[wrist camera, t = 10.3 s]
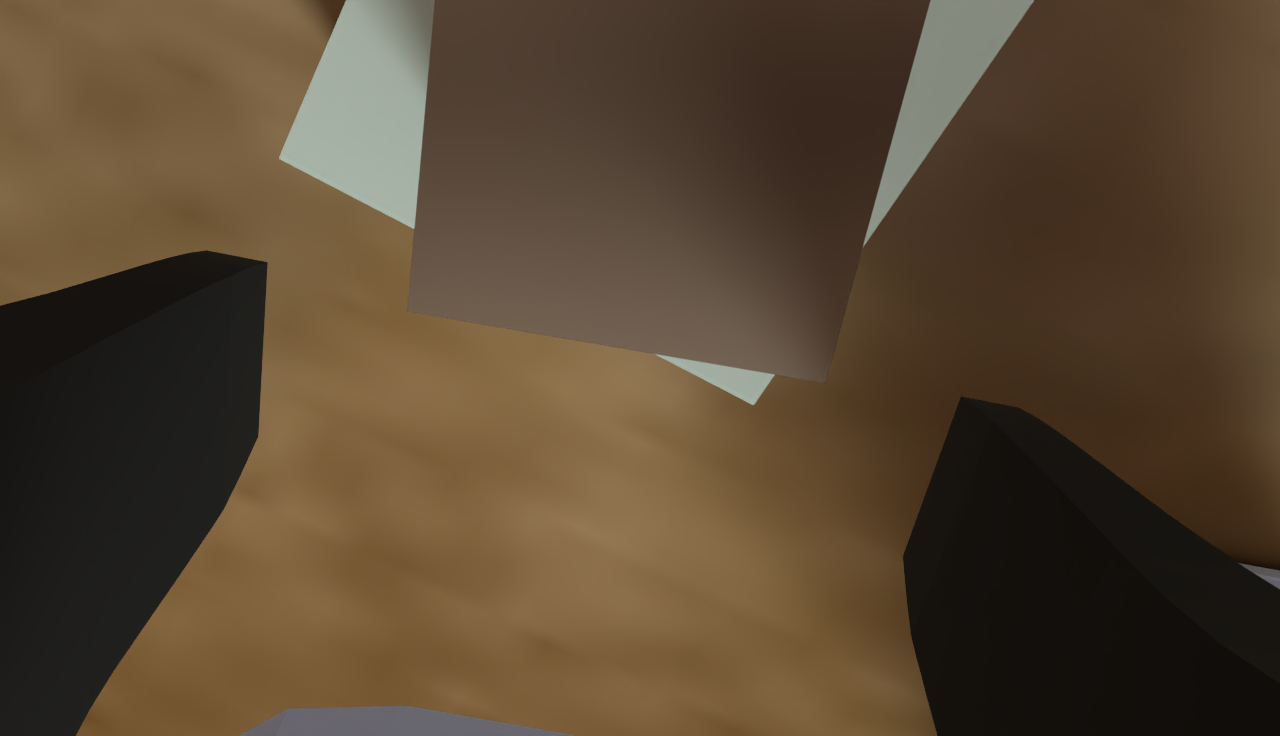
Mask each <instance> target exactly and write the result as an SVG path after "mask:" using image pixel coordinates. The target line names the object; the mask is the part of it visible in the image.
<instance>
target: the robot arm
mask: <svg viewBox="0 0 1280 736" xmlns="http://www.w3.org/2000/svg"><path fill="white" fill-rule="evenodd" d="M266 279H267V262H263V261H258V260H253V259H248V258H242V257H237V256H232V255H227V254H222V253H217V252H211V251H200V252H192V253H187V254H182V255H178V256H174V257H170V258H166V259H163V260H159V261H155V262H152V263H149V264H145V265H142V266H138V267H135V268H132V269H128V270H125V271H122V272H118V273H115V274H112V275H108V276H105V277H102V278H98V279H95V280H92V281H88V282H85V283H82V284H78V285H75V286H72V287H68V288H65V289H62V290H58V291H55V292H51V293H48V294H44V295H40V296H36V297H32V298H29V299H25V300H21V301H17V302H13V303H9V304H5V305H2V306H0V736H76V734H77V732H78V730H79V728H80V726H81V725H82V723H83V721H84V719H85V717H86V715H87V713H88V712H89V710H90V708H91V706H92V705H93V703H94V702H95V700H96V698H97V697H98V695H99V693H100V692H101V690H102V689H103V687H104V685H105V684H106V682H107V681H108V679H109V677H110V676H111V674H112V673H113V671H114V669H115V668H116V667H117V665H118V664H119V662H120V661H121V659H122V658H123V656H124V655H125V654H126V652H127V651H128V649H129V648H130V646H131V645H132V643H133V642H134V640H135V639H136V638H137V636H138V635H139V633H140V632H141V630H142V629H143V627H144V626H145V625H146V623H147V622H148V620H149V619H150V617H151V616H152V614H153V613H154V611H155V610H156V609H157V607H158V606H159V604H160V603H161V601H162V600H163V598H164V597H165V596H166V594H167V593H168V591H169V590H170V588H171V587H172V585H173V584H174V582H175V581H176V580H177V578H178V577H179V575H180V574H181V572H182V571H183V569H184V568H185V567H186V565H187V564H188V562H189V561H190V559H191V558H192V556H193V555H194V553H195V552H196V550H197V549H198V547H199V546H200V544H201V543H202V541H203V540H204V538H205V537H206V535H207V534H208V532H209V531H210V530H211V528H212V527H213V525H214V523H215V522H216V520H217V519H218V517H219V516H220V514H221V513H222V511H223V509H224V507H225V505H226V503H227V501H228V499H229V497H230V495H231V493H232V491H233V489H234V487H235V485H236V483H237V481H238V479H239V477H240V475H241V473H242V471H243V468H244V466H245V464H246V462H247V460H248V457H249V455H250V453H251V451H252V449H253V446H254V444H255V442H256V440H257V438H258V429H259V410H260V392H261V373H262V354H263V335H264V317H265V298H266ZM903 561H904V572H905V584H906V595H907V605H908V613H909V621H910V629H911V636H912V641H913V645H914V649H915V653H916V657H917V661H918V664H919V668H920V672H921V676H922V680H923V683H924V687H925V691H926V695H927V699H928V702H929V706H930V710H931V713H932V717H933V721H934V724H935V728H936V732H937V735H938V736H1280V571H1279V570H1273V569H1268V568H1262V567H1257V566H1251V565H1246V564H1240V563H1238V562H1236V561H1235V560H1233V559H1232V558H1230V557H1229V556H1227V555H1226V554H1224V553H1223V552H1221V551H1220V550H1219V549H1217V548H1216V547H1214V546H1213V545H1211V544H1210V543H1208V542H1207V541H1205V540H1204V539H1202V538H1201V537H1199V536H1198V535H1197V534H1195V533H1194V532H1192V531H1191V530H1189V529H1188V528H1187V527H1185V526H1184V525H1182V524H1181V523H1180V522H1178V521H1177V520H1175V519H1174V518H1173V517H1171V516H1170V515H1168V514H1167V513H1166V512H1164V511H1163V510H1162V509H1160V508H1159V507H1158V506H1156V505H1155V504H1153V503H1152V502H1151V501H1149V500H1148V499H1147V498H1145V497H1144V496H1143V495H1141V494H1140V493H1139V492H1137V491H1136V490H1135V489H1133V488H1132V487H1131V486H1129V485H1128V484H1127V483H1125V482H1124V481H1123V480H1122V479H1120V478H1119V477H1118V476H1116V475H1115V474H1114V473H1112V472H1111V471H1110V470H1108V469H1107V468H1106V467H1104V466H1103V465H1102V464H1100V463H1099V462H1098V461H1096V460H1095V459H1094V458H1092V457H1091V456H1090V455H1089V454H1087V453H1086V452H1085V451H1083V450H1082V449H1081V448H1079V447H1078V446H1077V445H1075V444H1074V443H1073V442H1071V441H1070V440H1068V439H1067V438H1066V437H1064V436H1063V435H1061V434H1060V433H1059V432H1057V431H1056V430H1054V429H1053V428H1052V427H1050V426H1049V425H1047V424H1046V423H1044V422H1043V421H1041V420H1040V419H1038V418H1036V417H1035V416H1033V415H1031V414H1029V413H1027V412H1026V411H1024V410H1022V409H1020V408H1017V407H1012V406H1007V405H1001V404H996V403H991V402H986V401H981V400H976V399H970V398H965V397H961V398H960V401H959V404H958V407H957V409H956V412H955V415H954V418H953V420H952V423H951V426H950V429H949V431H948V434H947V437H946V440H945V442H944V445H943V448H942V451H941V453H940V456H939V459H938V462H937V464H936V467H935V470H934V473H933V475H932V478H931V481H930V484H929V486H928V489H927V492H926V495H925V497H924V500H923V503H922V506H921V508H920V511H919V514H918V517H917V519H916V522H915V525H914V528H913V530H912V533H911V536H910V539H909V541H908V544H907V547H906V550H905V552H904V555H903ZM239 736H575V735H570V734H564V733H558V732H553V731H547V730H541V729H536V728H530V727H524V726H518V725H513V724H507V723H501V722H496V721H490V720H484V719H478V718H473V717H467V716H461V715H456V714H450V713H444V712H438V711H433V710H427V709H421V708H416V707H410V706H381V707H343V708H304V709H287V710H285V711H283V712H281V713H279V714H278V715H276V716H274V717H272V718H270V719H268V720H267V721H265V722H263V723H261V724H259V725H257V726H256V727H254V728H252V729H250V730H248V731H246V732H244V733H243V734H241V735H239Z"/></svg>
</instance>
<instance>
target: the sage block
mask: <svg viewBox="0 0 1280 736" xmlns="http://www.w3.org/2000/svg"><path fill="white" fill-rule="evenodd" d="M1033 1H1034V0H931V1H930V4H929V8H928V12H927V15H926V19H925V23H924V26H923V30H922V33H921V37H920V41H919V44H918V48H917V52H916V55H915V59H914V63H913V66H912V70H911V73H910V77H909V81H908V84H907V88H906V92H905V95H904V99H903V103H902V106H901V110H900V113H899V117H898V121H897V124H896V128H895V132H894V135H893V139H892V143H891V146H890V150H889V153H888V157H887V161H886V164H885V168H884V172H883V175H882V179H881V182H880V186H879V190H878V193H877V197H876V201H875V204H874V208H873V212H872V215H871V219H870V222H869V226H868V230H867V233H866V237H865V241H864V244H863V247H864V245H865V244H866V242H867V241H868V240H869V238H870V237H871V235H872V234H873V232H874V231H875V229H876V228H877V227H878V225H879V224H880V222H881V221H882V219H883V218H884V216H885V215H886V214H887V212H888V211H889V209H890V208H891V206H892V205H893V203H894V202H895V201H896V199H897V198H898V196H899V195H900V193H901V192H902V190H903V189H904V188H905V186H906V185H907V183H908V182H909V180H910V179H911V177H912V176H913V175H914V173H915V172H916V170H917V169H918V167H919V166H920V164H921V163H922V162H923V160H924V159H925V157H926V156H927V154H928V153H929V152H930V150H931V149H932V147H933V146H934V144H935V143H936V141H937V140H938V139H939V137H940V136H941V134H942V133H943V131H944V130H945V128H946V127H947V126H948V124H949V123H950V121H951V120H952V118H953V117H954V115H955V114H956V113H957V111H958V110H959V108H960V107H961V105H962V104H963V102H964V101H965V100H966V98H967V97H968V95H969V94H970V92H971V91H972V89H973V88H974V87H975V85H976V84H977V82H978V81H979V79H980V78H981V76H982V75H983V74H984V72H985V71H986V69H987V68H988V66H989V65H990V63H991V62H992V61H993V59H994V58H995V56H996V55H997V53H998V52H999V50H1000V49H1001V48H1002V46H1003V45H1004V43H1005V42H1006V40H1007V39H1008V37H1009V36H1010V35H1011V33H1012V32H1013V30H1014V29H1015V27H1016V26H1017V24H1018V23H1019V22H1020V20H1021V19H1022V17H1023V16H1024V14H1025V13H1026V11H1027V10H1028V9H1029V7H1030V6H1031V4H1032V3H1033ZM434 3H435V0H346V2H345V4H344V6H343V9H342V11H341V13H340V16H339V18H338V20H337V23H336V25H335V27H334V30H333V32H332V34H331V37H330V39H329V41H328V44H327V46H326V49H325V51H324V53H323V56H322V58H321V60H320V63H319V65H318V67H317V70H316V72H315V74H314V77H313V79H312V81H311V84H310V86H309V88H308V91H307V93H306V96H305V98H304V100H303V103H302V105H301V107H300V110H299V112H298V114H297V117H296V119H295V121H294V124H293V126H292V128H291V131H290V133H289V135H288V138H287V140H286V142H285V145H284V147H283V150H282V152H281V154H280V157H279V159H280V160H282V161H284V162H286V163H288V164H290V165H292V166H294V167H296V168H298V169H300V170H302V171H303V172H305V173H307V174H309V175H311V176H313V177H315V178H317V179H319V180H321V181H323V182H325V183H327V184H328V185H330V186H332V187H334V188H336V189H338V190H340V191H342V192H344V193H346V194H348V195H350V196H352V197H353V198H355V199H357V200H359V201H361V202H363V203H365V204H367V205H369V206H371V207H373V208H375V209H377V210H378V211H380V212H382V213H384V214H386V215H388V216H390V217H392V218H394V219H396V220H398V221H400V222H402V223H403V224H405V225H407V226H409V227H411V228H413V229H414V228H415V217H416V206H417V194H418V183H419V172H420V161H421V149H422V138H423V127H424V115H425V104H426V93H427V82H428V70H429V59H430V48H431V37H432V25H433V14H434ZM655 355H657V356H659V357H661V358H663V359H665V360H667V361H669V362H671V363H673V364H675V365H677V366H679V367H680V368H682V369H684V370H686V371H688V372H690V373H692V374H694V375H696V376H698V377H700V378H702V379H704V380H705V381H707V382H709V383H711V384H713V385H715V386H717V387H719V388H721V389H723V390H725V391H727V392H729V393H730V394H732V395H734V396H736V397H738V398H740V399H742V400H744V401H746V402H748V403H750V404H752V405H754V404H755V403H756V401H757V400H758V398H759V397H760V395H761V394H762V393H763V391H764V390H765V388H766V387H767V385H768V384H769V382H770V381H771V380H772V378H773V377H774V374H768V373H763V372H757V371H751V370H745V369H739V368H733V367H728V366H722V365H716V364H710V363H704V362H698V361H693V360H687V359H681V358H675V357H669V356H663V355H658V354H655Z"/></svg>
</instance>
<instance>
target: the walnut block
mask: <svg viewBox="0 0 1280 736" xmlns="http://www.w3.org/2000/svg"><path fill="white" fill-rule="evenodd" d="M930 1H931V0H435V3H434V14H433V25H432V37H431V48H430V59H429V70H428V82H427V93H426V104H425V115H424V127H423V138H422V149H421V161H420V172H419V183H418V194H417V206H416V217H415V228H414V240H413V251H412V262H411V273H410V285H409V296H408V307H407V312H412V313H418V314H424V315H430V316H436V317H442V318H447V319H453V320H459V321H465V322H471V323H477V324H482V325H488V326H494V327H500V328H506V329H512V330H517V331H523V332H529V333H535V334H541V335H547V336H552V337H558V338H564V339H570V340H576V341H582V342H588V343H593V344H599V345H605V346H611V347H617V348H623V349H628V350H634V351H640V352H646V353H652V354H658V355H663V356H669V357H675V358H681V359H687V360H693V361H698V362H704V363H710V364H716V365H722V366H728V367H733V368H739V369H745V370H751V371H757V372H763V373H768V374H774V375H780V376H786V377H792V378H798V379H803V380H809V381H815V382H821V383H825V382H826V379H827V375H828V372H829V368H830V364H831V361H832V357H833V353H834V350H835V346H836V342H837V339H838V335H839V332H840V328H841V324H842V321H843V317H844V313H845V310H846V306H847V302H848V299H849V295H850V292H851V288H852V284H853V281H854V277H855V273H856V270H857V266H858V262H859V259H860V255H861V252H862V248H863V244H864V241H865V237H866V233H867V230H868V226H869V222H870V219H871V215H872V212H873V208H874V204H875V201H876V197H877V193H878V190H879V186H880V182H881V179H882V175H883V172H884V168H885V164H886V161H887V157H888V153H889V150H890V146H891V143H892V139H893V135H894V132H895V128H896V124H897V121H898V117H899V113H900V110H901V106H902V103H903V99H904V95H905V92H906V88H907V84H908V81H909V77H910V73H911V70H912V66H913V63H914V59H915V55H916V52H917V48H918V44H919V41H920V37H921V33H922V30H923V26H924V23H925V19H926V15H927V12H928V8H929V4H930Z"/></svg>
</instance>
